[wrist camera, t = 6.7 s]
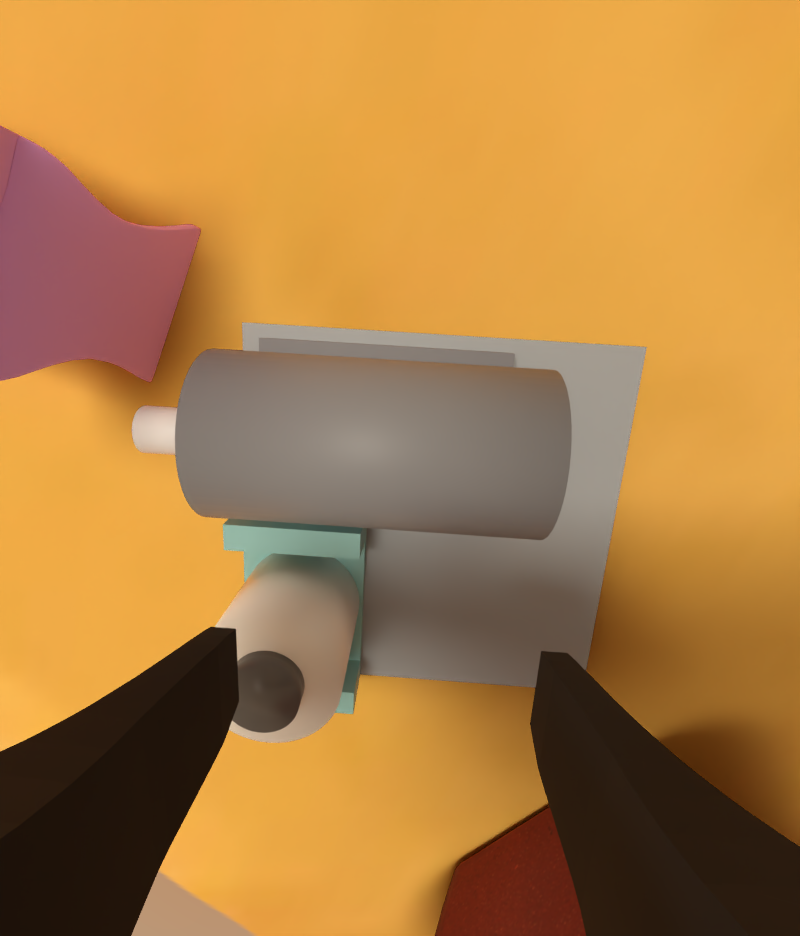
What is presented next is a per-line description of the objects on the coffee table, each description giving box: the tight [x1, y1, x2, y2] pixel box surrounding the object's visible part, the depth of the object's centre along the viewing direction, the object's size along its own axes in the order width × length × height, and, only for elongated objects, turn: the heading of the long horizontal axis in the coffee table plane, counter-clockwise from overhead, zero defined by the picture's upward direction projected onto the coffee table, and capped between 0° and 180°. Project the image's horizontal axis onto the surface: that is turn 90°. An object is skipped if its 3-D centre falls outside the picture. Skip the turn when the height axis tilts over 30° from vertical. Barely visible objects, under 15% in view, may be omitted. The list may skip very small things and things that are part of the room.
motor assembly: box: [132, 322, 647, 714], centre depth 17 cm, size 17×15×6 cm
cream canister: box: [215, 553, 359, 743], centre depth 17 cm, size 5×5×6 cm
